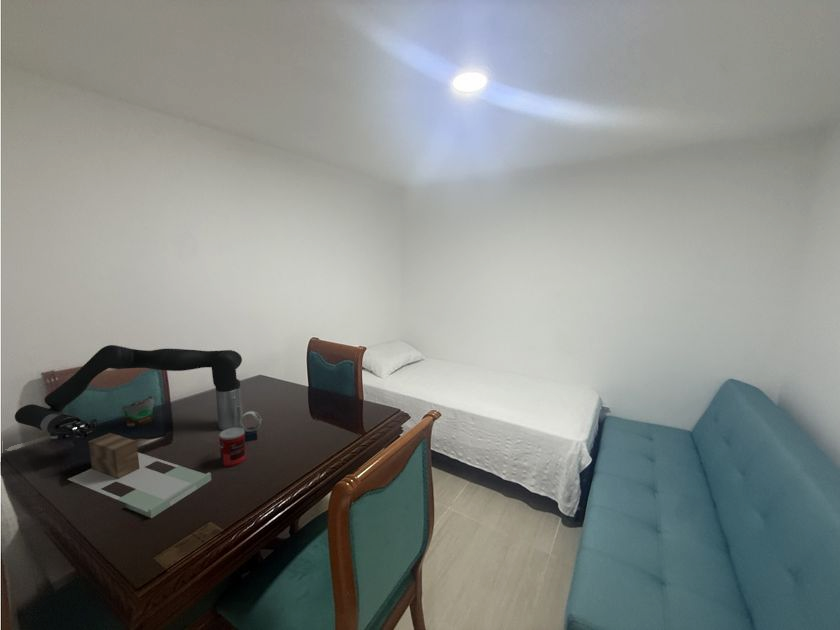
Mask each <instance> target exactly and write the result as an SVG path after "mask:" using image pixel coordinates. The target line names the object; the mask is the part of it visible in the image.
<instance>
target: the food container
mask: <svg viewBox="0 0 840 630" xmlns="http://www.w3.org/2000/svg"><path fill="white" fill-rule="evenodd" d="M154 404H155V400H154V397H153V396H152V395H149V396H148V397H147V398H145V399H143V400H138V401H136V402H134V403H132V404H129V405H122V407H121V411H122V412H123V413H124V418H125V421H126V426H137V427H140V426H139V425H142V426H144V425H143V424H145V425H147V424H150V423H151V422H152V421H153V420H152V419H153V418H154V417H153V413H154V412H153V411H154V410H153V409H154V408H153V407H154ZM150 421H151V422H150ZM146 423H147V424H146Z"/></svg>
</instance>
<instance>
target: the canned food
mask: <svg viewBox="0 0 840 630" xmlns="http://www.w3.org/2000/svg"><path fill="white" fill-rule="evenodd" d="M218 438H219V439H218V440H219V451H220V452H219V454H220V455H219V456H220V462H221V465H222V466H224V467H235V466H238V465H240V464H241V463H243V462H245V460H246V456H247V455H246V442H245V431H244V429H242V428H241V427H238V428H230V429H226V430H222V431H220V433H219V436H218Z"/></svg>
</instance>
